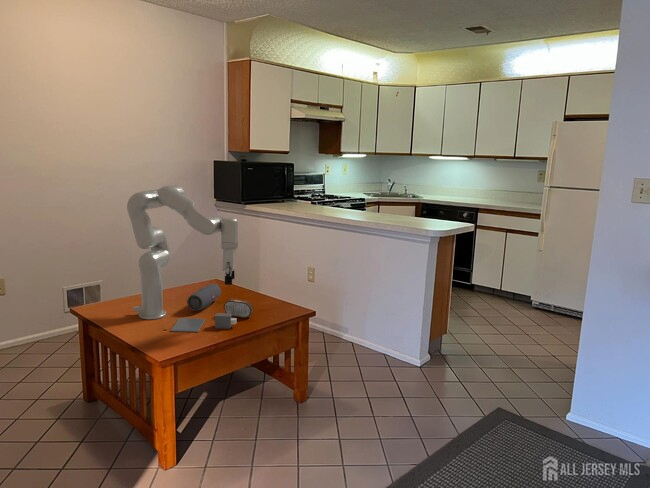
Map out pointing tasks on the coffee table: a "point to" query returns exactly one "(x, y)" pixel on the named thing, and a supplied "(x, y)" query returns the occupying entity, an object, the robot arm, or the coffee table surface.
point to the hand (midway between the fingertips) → (229, 281)
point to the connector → (224, 320)
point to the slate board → (187, 325)
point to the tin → (238, 308)
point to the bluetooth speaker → (203, 297)
